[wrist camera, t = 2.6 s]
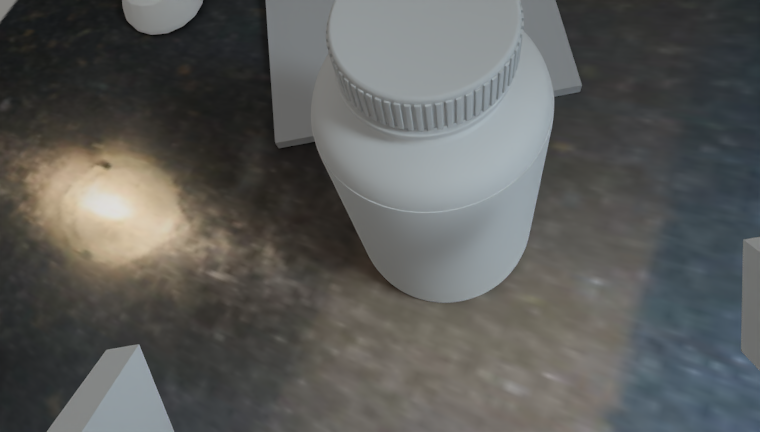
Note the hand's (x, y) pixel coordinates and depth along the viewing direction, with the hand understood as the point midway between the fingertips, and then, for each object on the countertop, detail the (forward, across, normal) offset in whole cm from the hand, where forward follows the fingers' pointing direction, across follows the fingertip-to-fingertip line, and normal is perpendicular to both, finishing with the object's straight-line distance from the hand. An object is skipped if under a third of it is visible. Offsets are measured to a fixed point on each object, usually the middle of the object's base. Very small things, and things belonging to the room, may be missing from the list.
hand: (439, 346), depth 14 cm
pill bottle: (+16, +1, -4) cm, 17 cm away
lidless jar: (+29, -13, +8) cm, 33 cm away
